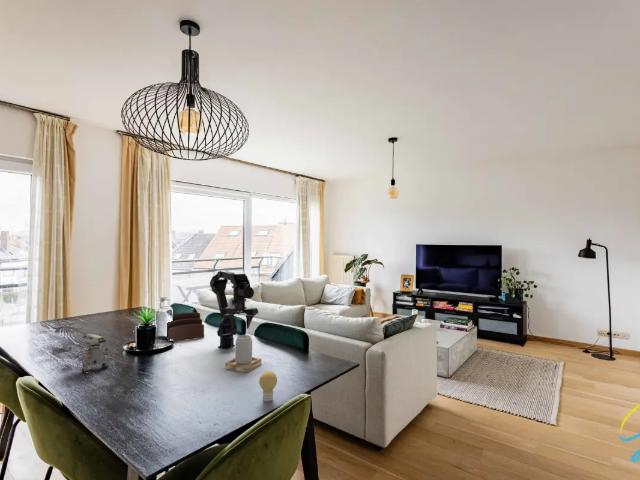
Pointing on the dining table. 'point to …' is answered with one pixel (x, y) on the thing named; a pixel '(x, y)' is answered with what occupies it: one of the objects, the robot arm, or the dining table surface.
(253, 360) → the wooden tray
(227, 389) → the dining table surface
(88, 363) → the figurine
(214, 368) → the dining table surface
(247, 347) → the can
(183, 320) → the letter holder
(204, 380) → the dining table surface
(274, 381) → the light bulb
